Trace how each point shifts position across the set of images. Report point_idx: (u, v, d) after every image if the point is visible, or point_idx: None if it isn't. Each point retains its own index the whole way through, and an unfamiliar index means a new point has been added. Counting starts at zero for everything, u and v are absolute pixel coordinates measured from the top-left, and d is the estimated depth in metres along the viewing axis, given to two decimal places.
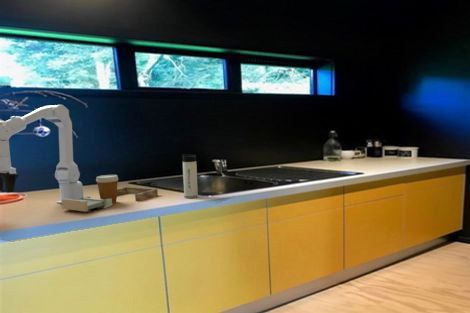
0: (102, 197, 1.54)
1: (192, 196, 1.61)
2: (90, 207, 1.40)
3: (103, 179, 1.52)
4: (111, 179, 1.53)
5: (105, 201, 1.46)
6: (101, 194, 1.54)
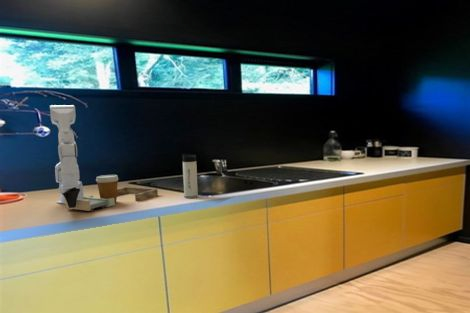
0: (102, 197, 1.54)
1: (192, 196, 1.61)
2: (93, 206, 1.41)
3: (103, 179, 1.52)
4: (111, 179, 1.53)
5: (108, 200, 1.47)
6: (101, 194, 1.54)
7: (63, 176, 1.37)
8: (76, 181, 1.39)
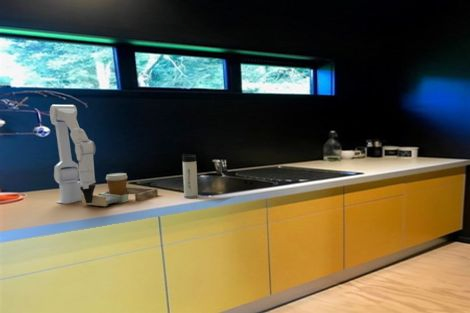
0: None
1: (192, 196, 1.61)
2: (108, 202, 1.48)
3: (113, 177, 1.56)
4: (120, 177, 1.57)
5: (122, 196, 1.54)
6: (111, 192, 1.58)
7: (83, 173, 1.44)
8: (94, 177, 1.47)
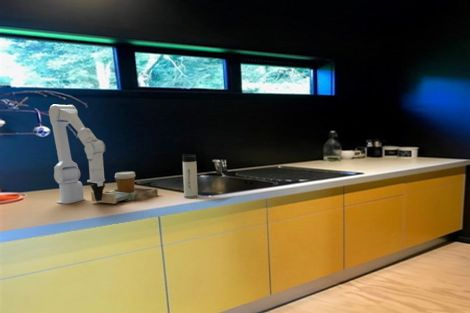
0: None
1: (192, 196, 1.61)
2: (118, 199, 1.53)
3: (121, 175, 1.61)
4: (129, 175, 1.62)
5: (130, 194, 1.59)
6: (119, 190, 1.63)
7: (94, 171, 1.48)
8: (103, 175, 1.52)
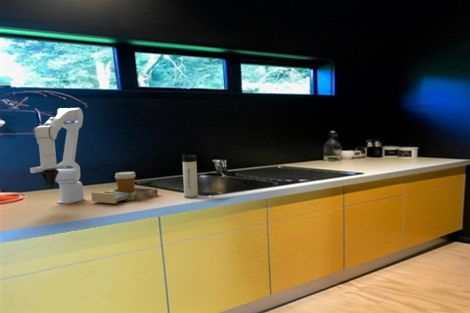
0: None
1: (192, 196, 1.61)
2: (118, 199, 1.53)
3: (121, 175, 1.61)
4: (129, 175, 1.62)
5: (131, 194, 1.59)
6: (119, 190, 1.63)
7: (40, 157, 1.42)
8: (51, 163, 1.43)
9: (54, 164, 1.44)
